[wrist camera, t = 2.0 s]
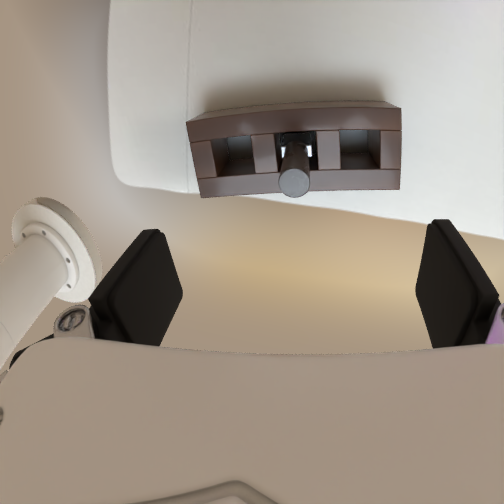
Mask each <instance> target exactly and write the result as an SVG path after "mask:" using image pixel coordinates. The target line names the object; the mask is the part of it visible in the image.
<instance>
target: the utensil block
mask: <svg viewBox="0 0 504 504" xmlns="http://www.w3.org/2000/svg"><path fill="white" fill-rule="evenodd" d="M186 126H187V131H188V136H189V142H191V143H190V147H191V152H192V157H193V162H194V167H195V172H196V176H197V181H198V186H199V191H200V195H201V198H209V197H221V196H235V195H249V194H265V193H283V192H282V191H281V190H280V188H279V184H278V181H279V175H280V171H281V166H282V161H283V158H282V156H281V144H280V135H279V133H281V132H296V131H314V134H315V148H316V154H312V157H309V170H310V188H309V190H308V191H335V190H399V189H400V174H401V143H402V131H401V130H402V123H401V108H399V107H397V106H394V105H392V104H389V103H387V102H385V101H317V102H297V103H283V104H271V105H260V106H251V107H242V108H234V109H227V110H220V111H213V112H207V113H203V114H201V115H199V116H197V117H195V118H193V119H191V120H189V121H187V122H186ZM339 130H368V153H340V133H339ZM246 135H251V143H252V151H253V158H245V159H235V160H230V157H229V151H228V145H227V139H226V138H228V137H237V136H246Z"/></svg>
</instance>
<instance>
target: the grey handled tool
mask: <svg viewBox="0 0 504 504" xmlns="http://www.w3.org/2000/svg"><path fill="white" fill-rule="evenodd" d="M281 156H282V158H283V161H282V166H281V171H280V175H279V181H278V184H279V188H280V190H281V191H282V192H283V193H284V194H285V195H287V196H289V197H294V198H296V197H300V196H303V195H304V194H306V193H307V191H308V190H309V188H310V170H309V157H312V144H311V137H310V133H292V134H284V136H283V140H282V144H281Z"/></svg>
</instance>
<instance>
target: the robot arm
mask: <svg viewBox="0 0 504 504" xmlns="http://www.w3.org/2000/svg"><path fill="white" fill-rule="evenodd" d="M78 280H79V268H78V264H77V261H76V258H75V256H74V254H73V252H72V250H71V248H70V247H69V245H68V244H67V243H66V241H65V240H64V239H63V238H62V237H61V235H59V234H58V233H57V232H56V231H55V230H54V229H52V228H51V227H49V226H47V225H45V224H43V223H39V222H33V223H30V224H28V225H27V226H26V227H24V228H23V230H22V231H21V233H20V238H19V246H18V247H17V248H15V249H14V250H13V251H12V252H11V253H10V254H9V255H6V256H4V258H3V261H2V262H1V263H0V369H1V368H2V366H3V364H4V363H5V361H6V360H7V358H8V357H9V355H10V354H11V353H12V351H13V350H14V348H15V347H16V346H17V344H18V342H19V341H20V340H21V339H22V337H23V336H24V334H25V333H26V332H27V330H28V329H29V328H30V326H31V325H32V324H33V322H34V321H35V320H36V319H37V317H38V316H39V315H40V313H41V312H42V311H43V309H44V308H45V307H46V306H47V304H48V303H49V302H50V301H51V299H52V298H53V297H54V296H55V295H56V293H57V292H69V291H71V290H72V289H73V288H74V287H75V286H76V284H77V283H78ZM182 296H183V290H182V287H181V284H180V281H179V278H178V275H177V272H176V269H175V266H174V262H173V259H172V256H171V253H170V250H169V247H168V244H167V241H166V237H165V235H164V233H161V232H160V230H158V229H148V230H143V231H142V232H141V233H140V234H139V235H138V237H137V238H136V239H135V240H134V241H133V242H132V244H131V245H130V246H129V247H128V248H127V250H126V251H125V252H124V253H123V255H122V256H121V257H120V258H119V259H118V261H117V262H116V263H115V265H114V266H113V267H112V268H111V269H110V271H109V272H108V273H107V275H106V276H105V277H104V278H103V280H102V281H101V282H100V284H99V285H98V286H97V287H96V289H95V290H94V291H93V293H92V294H91V295H90V297H89V298H88V300H89V302H90V303H91V305H92V306H91V307H90V308H89V309H88V307H86V306H85V305H75V306H72V307H69V308H68V309H66V310H64V311H63V312H62V313H61V314H60V315H59V316H58V317H57V318H56V320H55V322H54V334H52V335H50V336H48V337H46V338H44V339H42V340H40V341H38V342H36V343H34V344H32V345H31V346H28V347H26V348H24V349H23V350H20V351H18V352H17V353H16V354H15V355H14V357H13V359H12V361H11V364H10V368H9V371H7V370H6V371H4V372H3V373H2V374H1V375H0V504H504V303H503V304H501V303H500V301H499V299H498V297H499V294H498V293H497V291H496V289H495V287H494V285H493V284H492V282H491V280H490V279H489V277H488V276H487V274H486V272H485V271H484V269H483V268H482V266H481V264H480V263H479V262H478V260H477V258H476V257H475V255H474V254H473V252H472V251H471V249H470V248H469V247H468V245H467V244H466V242H465V241H464V239H463V238H462V237H461V235H460V234H459V232H458V231H457V230H456V228H455V227H454V226H453V224H452V223H451V221H450V220H449V219H434V220H433V221H432V224H428V226H427V231H426V237H425V243H424V248H423V254H422V259H421V264H420V269H419V274H418V278H417V283H416V297H417V300H418V302H419V306H420V308H421V311H422V315H423V318H424V320H425V324H426V327H427V330H428V333H429V337H430V340H431V344H432V347H433V349H424V350H410V351H397V352H383V353H360V354H311V355H310V354H305V355H304V354H302V355H301V354H298V355H297V354H295V355H293V354H256V353H234V352H217V351H202V350H190V349H179V348H168V347H159V346H160V344H161V342H162V339H163V337H164V335H165V333H166V331H167V329H168V327H169V324H170V322H171V320H172V318H173V316H174V314H175V312H176V310H177V308H178V305H179V303H180V301H181V299H182Z"/></svg>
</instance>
